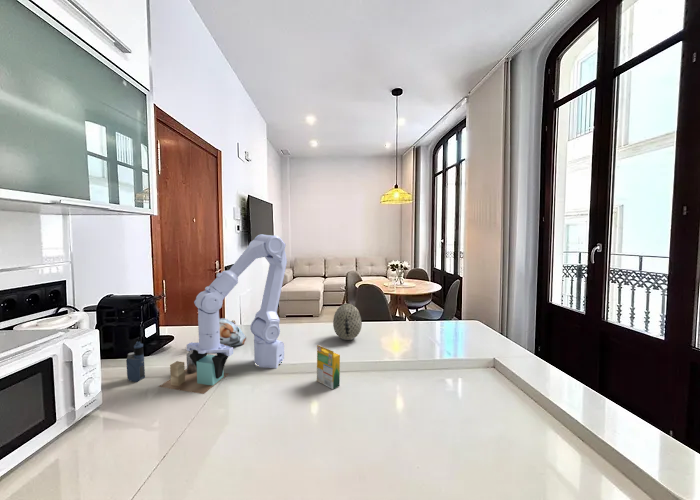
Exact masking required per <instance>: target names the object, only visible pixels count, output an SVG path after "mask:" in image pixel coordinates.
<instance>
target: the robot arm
mask: <svg viewBox="0 0 700 500" xmlns="http://www.w3.org/2000/svg"><path fill="white" fill-rule="evenodd" d="M286 246H287V245H286V243H285V242H284V241H283V239H282V237H280V236H279V235H276V234H275V235H270V234H262V233H261V234H258V235H256V236H255V237H254V239H253V240H251V241H250V242H249V244H248V246H247V248H245V250H244V251H243V252H242V253H241V255H240V256H239V257H238V258H237V259H236V261H235V262H234V263H233V265H231V267H230V268H229V269H228V270H223V271H221V272H217V274H216V275H215V276H216V278H214V280H213V281H212V282H211V283H210V284H209V285H208V286H207V285H206V286H205V288H204V290H203V291H200V292H199V293H198V294H197V295H196V297H195V300H194V301H193V303H194V305H195V307H196V308H197V313H198V315H197V321H198V322H197V325H198V327H197V328H198V342H193V341H192V342H189V343H187V344H186V351H187V352H192V354H190V358H191V359H192V361H193V362H194V364H195V366H196V368H197V361H198V360H200V359H202V358H203V357H205V356H207V355H208V353H209V354H216V356H214V357H212V360H213V363H214V366H215V376H216V378H217V379H218V378H220V377H221V376H222V373H223V369H225V365H226V362H227V361H228V358H229V357H230V356H232V355H233V354H234V346H226V345H223V344H220V326H219V319H220V309H221V308H222V307H223V302H224V299H225V298H226V297H227V296H228V295H229V294H230V293H231V292H232V290H233V289H234V288H235V286H237V285H238V283H239V277H240V276H241V275H242V274H243V273H244V272H245V270H247V269H248V267H250V265H251V264H252V263H253V262H254V261H256V259H261V258H265V259H266V261H267V262H268V263H269V266H268V271H267V276H266V280H265V286H264V290H263V294H262V300H261V305H260V309H259V310H258V311H257V312H256V313H255V315H254V319H253V320H252V321H251V324H250V333H252V334H253V348H254V349H253V351H254V352H253V353H254V354H253V357H254V358H253V359H254V361H253V362H255V363H256V364H257V365H259V367H258V368H271V369H277V368H278V364H279V363H281V361H283V359H284V360H285V343H284V341H282V340H279V339H278V338H279V336H280V334H281V329H280V323H281V320H280V317H279V315H278V307H279V302H280V298H281V292H282V287H283V285H284V284H283V283H284V280H285V279H284V278H285V273H286V268H287V265H288V259H287V254H286V253H287V252H286Z"/></svg>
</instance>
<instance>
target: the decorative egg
mask: <svg viewBox="0 0 700 500" xmlns="http://www.w3.org/2000/svg"><path fill="white" fill-rule="evenodd" d="M332 320H333V322H332V323H333V330H334V333H335V334H336V336H337V337H338V338H339V339H342V340H343V341H351V340H353V339H355V338H356V337H358V335H359V334H360V332H361V330H362V324H363V323H362V316H361V314H360V311H359V309H358V308H357V307H356V306H354V305H353V304H352V303H343V304H341V305H340V306H339V307H338V308H337V309H336V311H335V312H334V315H333V318H332Z"/></svg>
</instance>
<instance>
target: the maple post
mask: <svg viewBox="0 0 700 500" xmlns="http://www.w3.org/2000/svg"><path fill="white" fill-rule="evenodd" d="M185 368H186V367H185V362H184V361H178V360H177V361H175V362H173V363H171V364H170V365H169V369H170V370H169V371H170V373H169V374H170V379H171V385H175V386H179V385H181V384H182V383H184V382H185V370H186V369H185Z"/></svg>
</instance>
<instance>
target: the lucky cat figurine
mask: <svg viewBox="0 0 700 500" xmlns="http://www.w3.org/2000/svg"><path fill="white" fill-rule="evenodd" d="M236 323H237V322H236V321H235V320H234V319H233V320H229V319H226V318H225V317H223V318H222V317H221V318H219V326H220V344H223V345H226V346H229V347H234V346H235V347H236V346H241V345H245V342H246V340H247V336H246V335H245V333H244V332H243V331H242V329H241V328H240V327H239V326H238V325H236Z"/></svg>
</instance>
